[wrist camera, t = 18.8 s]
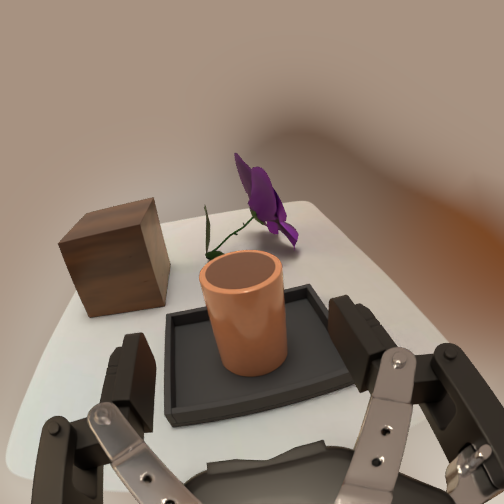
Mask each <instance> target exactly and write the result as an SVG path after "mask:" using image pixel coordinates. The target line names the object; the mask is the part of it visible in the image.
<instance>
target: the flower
mask: <svg viewBox="0 0 504 504" xmlns="http://www.w3.org/2000/svg"><path fill="white" fill-rule="evenodd" d="M235 161H236V166H237V169H238V173H239V176H240V179H241V181H242V184H243V186H244V189H245V191H246V193H247V194H248V196H249V202H248V204H249V206H250V211H251V214H252V216H253V217H252V218H251V219H250V220H249V221H248V222H247V223H246V224H245V225H244V226H243V227H241V228H240V229H238V230H237V231H235V232H233V233H232V234H230V235H229V236H228V237H227V238H226V239H225V240H224V241H223V242H222V243H221V244H220V245H219V246H218V247H217V248H215V249H214V250H213V251H211V252H207V251H208V246H209V242H210V222H209V218H208V214H207V210H206V206H205V207H204V209H205V212H206V254H205V256H206V258H207V259H210V260H213V259H214V258H216V257H218V256H221V255H224V253H222V252H220V251H216V250H217V249H218V248H219V247H220V246H221V245H222V244H223V243H224V242H225V241H226V240H227V239H228V238H229V237H230V236H232V235H233V234H235V235H238V234H237V233H236V232H238V231H240V230H241V229H243V228H244V227H245V226H246V225H247V224H248V223H249V222H250V221H251V220H252V219H253V218H254V219H255V220H257V221H258V222H259V223H261V224H262V225H265V226H267V227H268V229H269V232H271V233H273V234H278V230H280V231H281V232H282V233H284V234H285V235H286V237H287V238H288V239H289V241H290V242H291V243H292V245H293V246H294V249H295V244H296V242H297V239H298V233H297V231H296V229H295V228H294V227H293V226H292V225H290V224H288V223H286V222H284V221H286V217H287V215H286V212H285V210H284V207H283V205H282V202H281V200H280V198H279V196H278V195H277V193H276V191H275V190H274V188H273V187H272V184H271V181H270V179H269V177H268V175H267V173H266V172H265V171H264V170H263V169H262V168H260V167H253V168H252V169H251V168H250V167H249V166H248V165H247V164H246V163H245V162H244V161H243V160H242V159H241V158H240V156H239V155H238V154H237V153H235ZM265 221H267V224H266V222H265ZM243 224H244V223H243Z"/></svg>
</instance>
